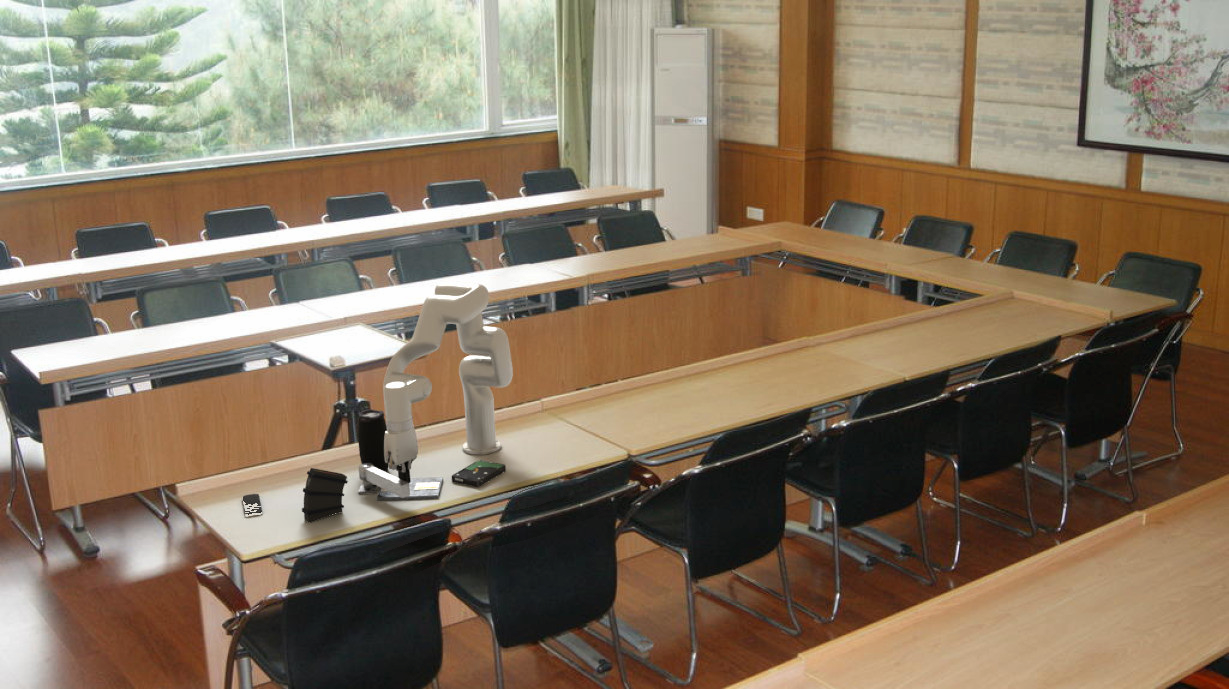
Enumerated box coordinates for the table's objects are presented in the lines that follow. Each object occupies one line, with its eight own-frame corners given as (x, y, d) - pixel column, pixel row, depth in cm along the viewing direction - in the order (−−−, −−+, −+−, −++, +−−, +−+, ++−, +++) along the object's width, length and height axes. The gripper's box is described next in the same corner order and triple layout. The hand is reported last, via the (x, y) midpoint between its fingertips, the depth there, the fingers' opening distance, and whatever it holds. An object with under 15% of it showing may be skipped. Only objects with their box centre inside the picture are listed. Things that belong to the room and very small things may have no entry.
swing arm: (369, 473, 364) (368, 461, 363) (412, 494, 348) (411, 482, 347) (356, 477, 361) (355, 465, 360) (400, 498, 345) (399, 486, 344)
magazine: (292, 517, 341) (308, 467, 341) (332, 523, 350) (348, 474, 350) (298, 521, 338) (314, 470, 338) (338, 527, 347) (354, 478, 347)
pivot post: (361, 487, 365) (360, 475, 364) (377, 486, 365) (376, 475, 364) (358, 494, 360) (357, 482, 359) (375, 493, 360) (374, 481, 359)
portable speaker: (395, 468, 379) (391, 410, 373) (377, 479, 371) (372, 419, 366) (374, 464, 383) (369, 406, 377) (355, 474, 375) (350, 415, 369)
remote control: (263, 517, 348) (259, 496, 361) (262, 512, 347) (258, 491, 360) (245, 520, 346) (242, 499, 359) (245, 515, 345) (241, 494, 359)
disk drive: (479, 489, 362) (506, 472, 375) (478, 481, 362) (506, 464, 374) (451, 483, 367) (479, 466, 380) (450, 475, 367) (478, 458, 379)
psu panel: (384, 482, 368) (384, 478, 368) (443, 480, 369) (442, 476, 368) (377, 500, 355) (376, 496, 355) (438, 498, 355) (437, 494, 355)
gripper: (407, 414, 355) (412, 471, 360) (371, 430, 343) (377, 489, 348) (426, 418, 351) (431, 476, 356) (391, 434, 339) (397, 494, 344)
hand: (404, 482), depth 352 cm, fingers closed
